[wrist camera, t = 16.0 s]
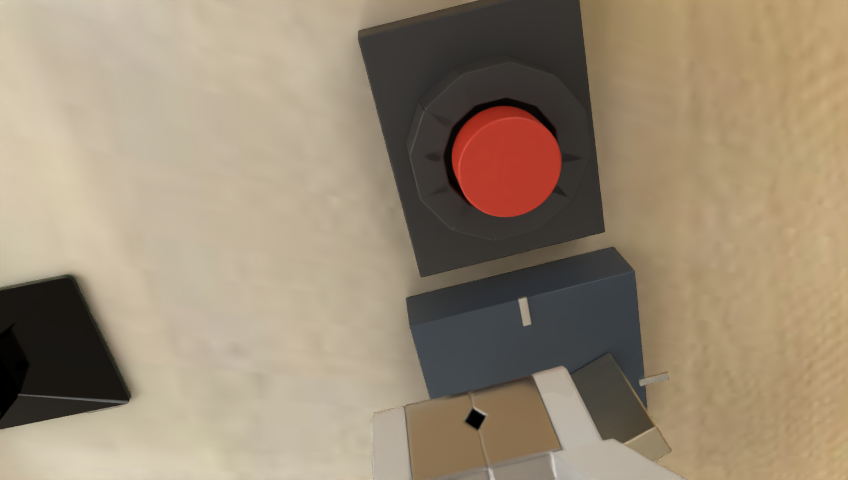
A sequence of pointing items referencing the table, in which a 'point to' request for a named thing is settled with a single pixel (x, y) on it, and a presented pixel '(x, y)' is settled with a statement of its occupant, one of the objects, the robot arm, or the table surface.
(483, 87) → the button box
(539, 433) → the robot arm
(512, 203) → the button
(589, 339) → the dial panel
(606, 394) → the pointer
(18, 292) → the build plate
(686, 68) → the table surface
